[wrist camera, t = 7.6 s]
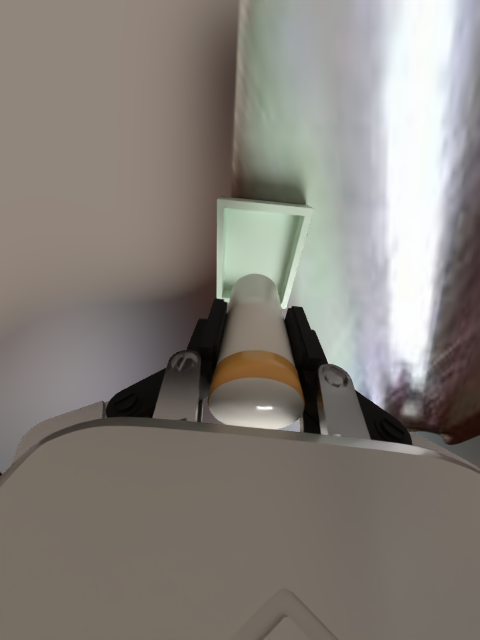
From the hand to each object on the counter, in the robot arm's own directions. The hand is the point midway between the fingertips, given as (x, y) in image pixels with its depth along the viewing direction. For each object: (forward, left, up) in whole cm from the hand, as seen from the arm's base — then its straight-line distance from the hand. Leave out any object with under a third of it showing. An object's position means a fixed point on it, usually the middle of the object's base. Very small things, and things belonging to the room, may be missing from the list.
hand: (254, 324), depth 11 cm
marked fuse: (0, 0, -4) cm, 4 cm away
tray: (0, 0, -12) cm, 12 cm away
